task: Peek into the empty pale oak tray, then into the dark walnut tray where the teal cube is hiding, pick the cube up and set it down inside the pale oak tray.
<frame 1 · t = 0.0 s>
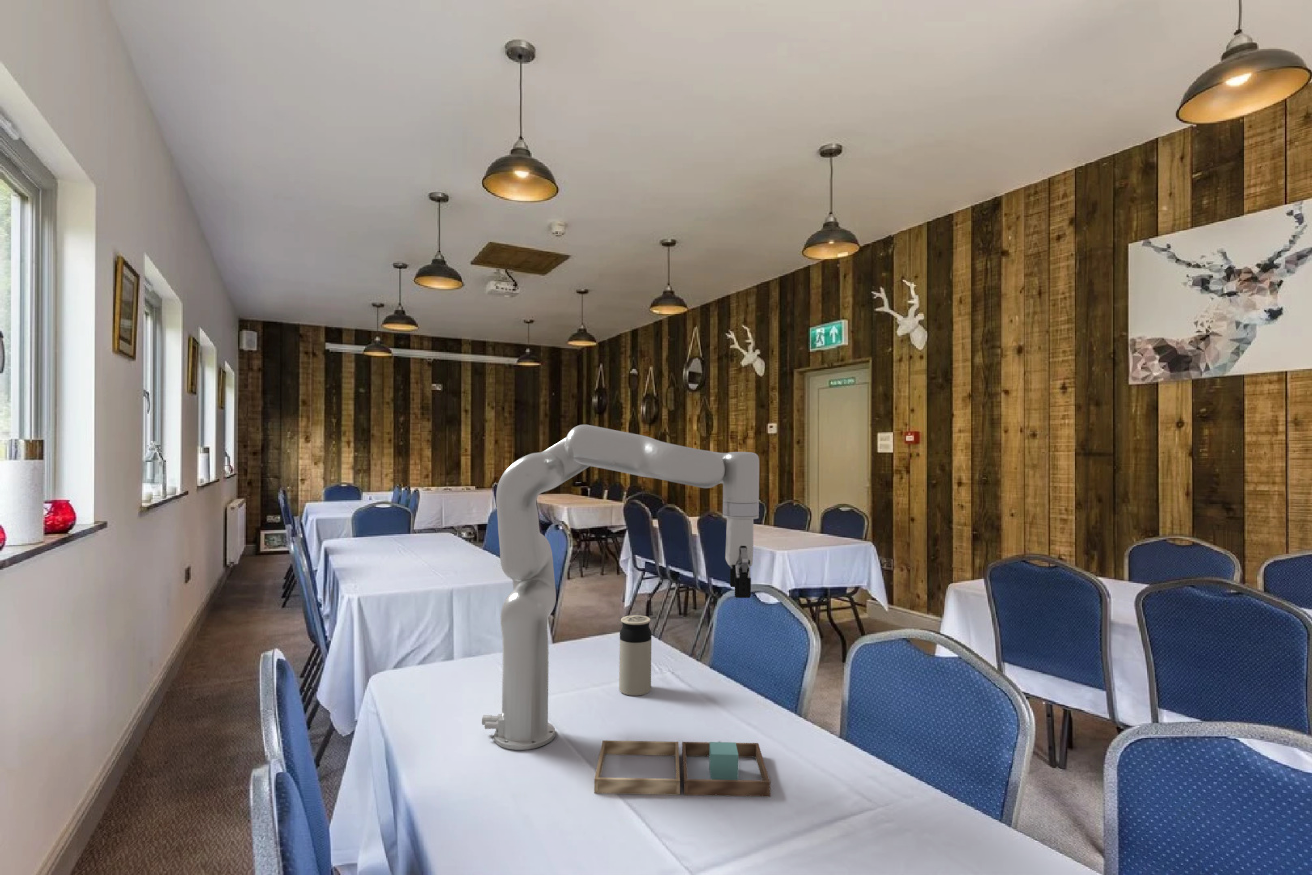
hand: (739, 591, 139), 31 cm above the table, fingers open, 9 cm apart
travel mug: (635, 691, 166), on the table
oak tray: (638, 772, 125), on the table
walnut tray: (723, 773, 124), on the table
teal cube: (723, 774, 124), resting in walnut tray
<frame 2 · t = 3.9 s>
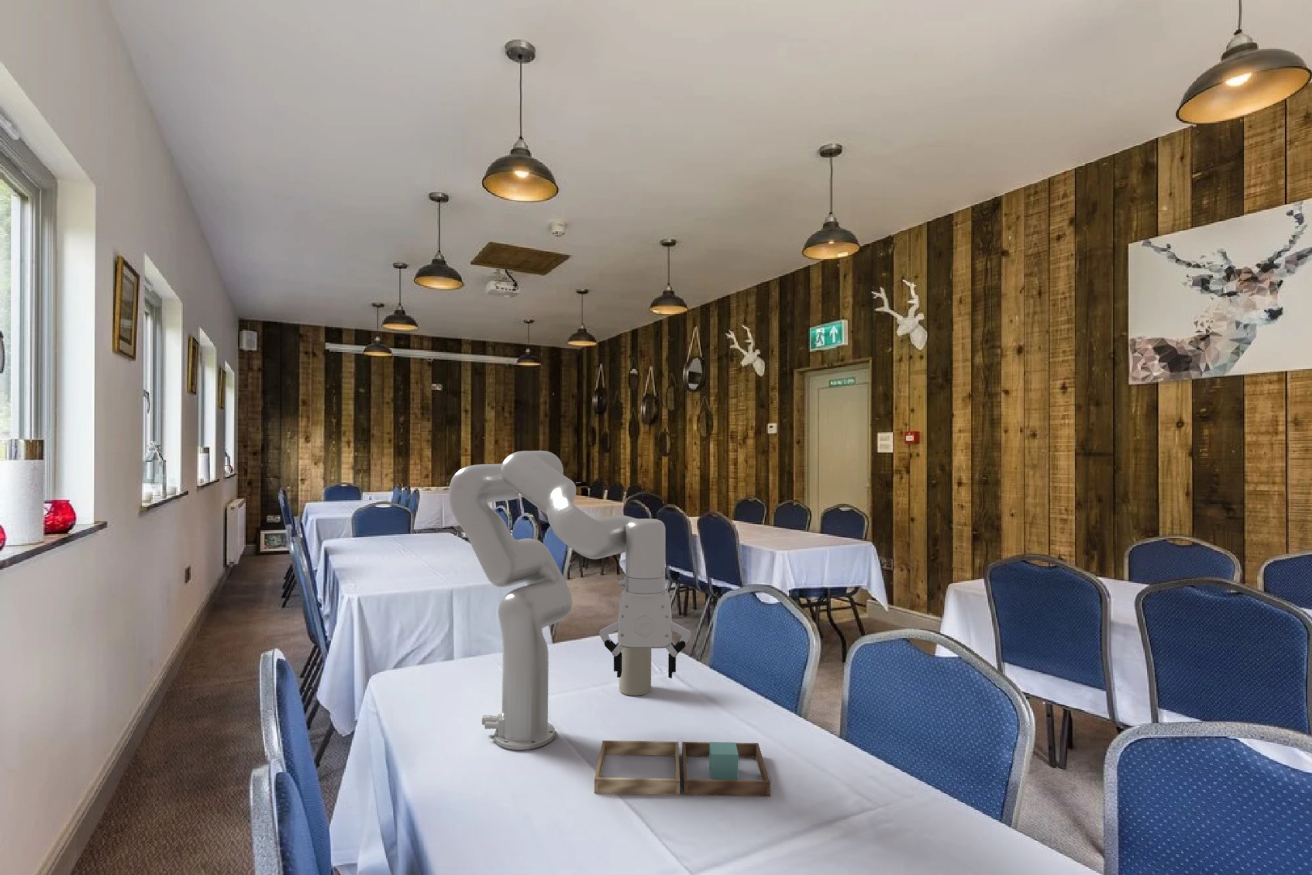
hand: (644, 675, 125), 18 cm above the table, fingers open, 9 cm apart
nothing on the table moved.
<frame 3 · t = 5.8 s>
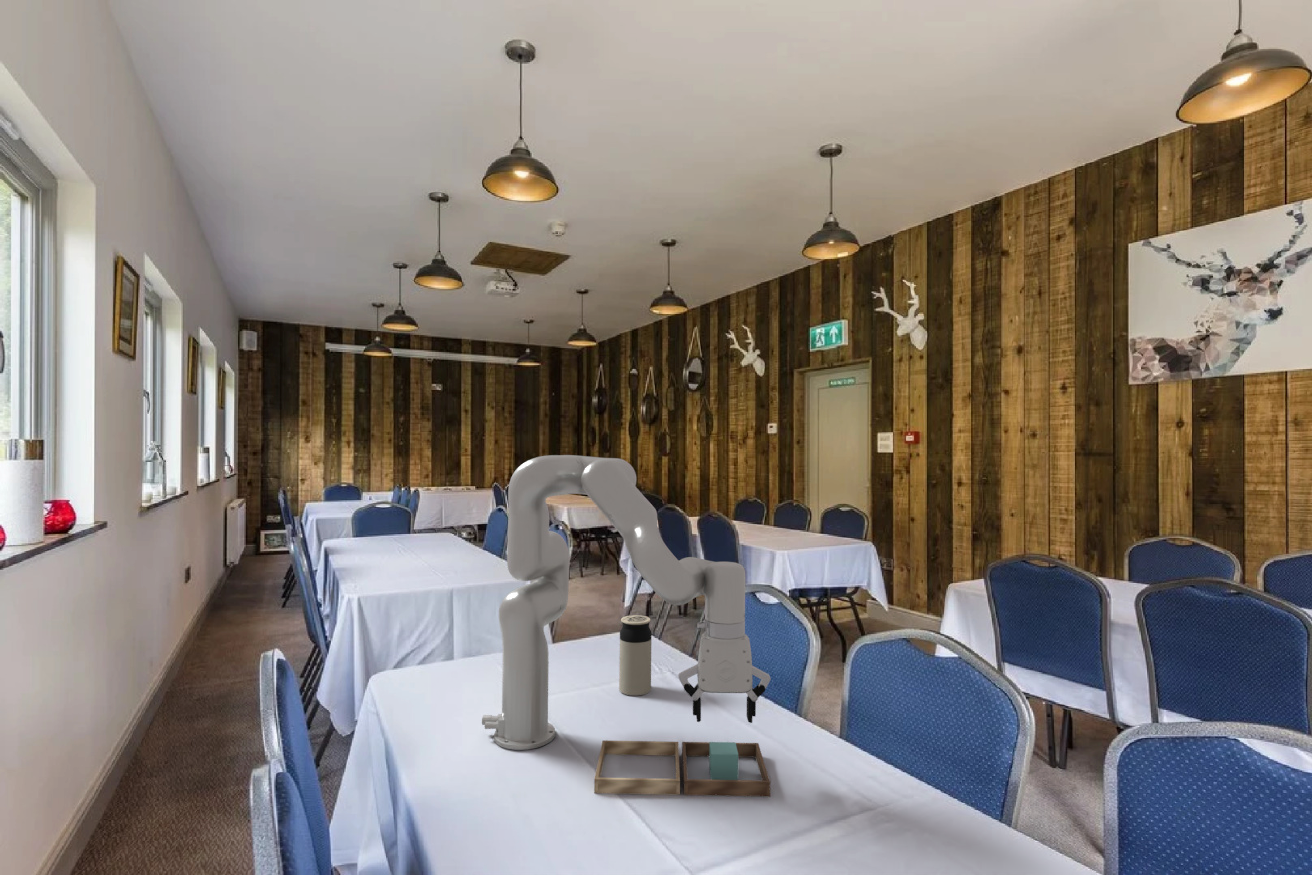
hand: (723, 719, 124), 10 cm above the table, fingers open, 9 cm apart
nothing on the table moved.
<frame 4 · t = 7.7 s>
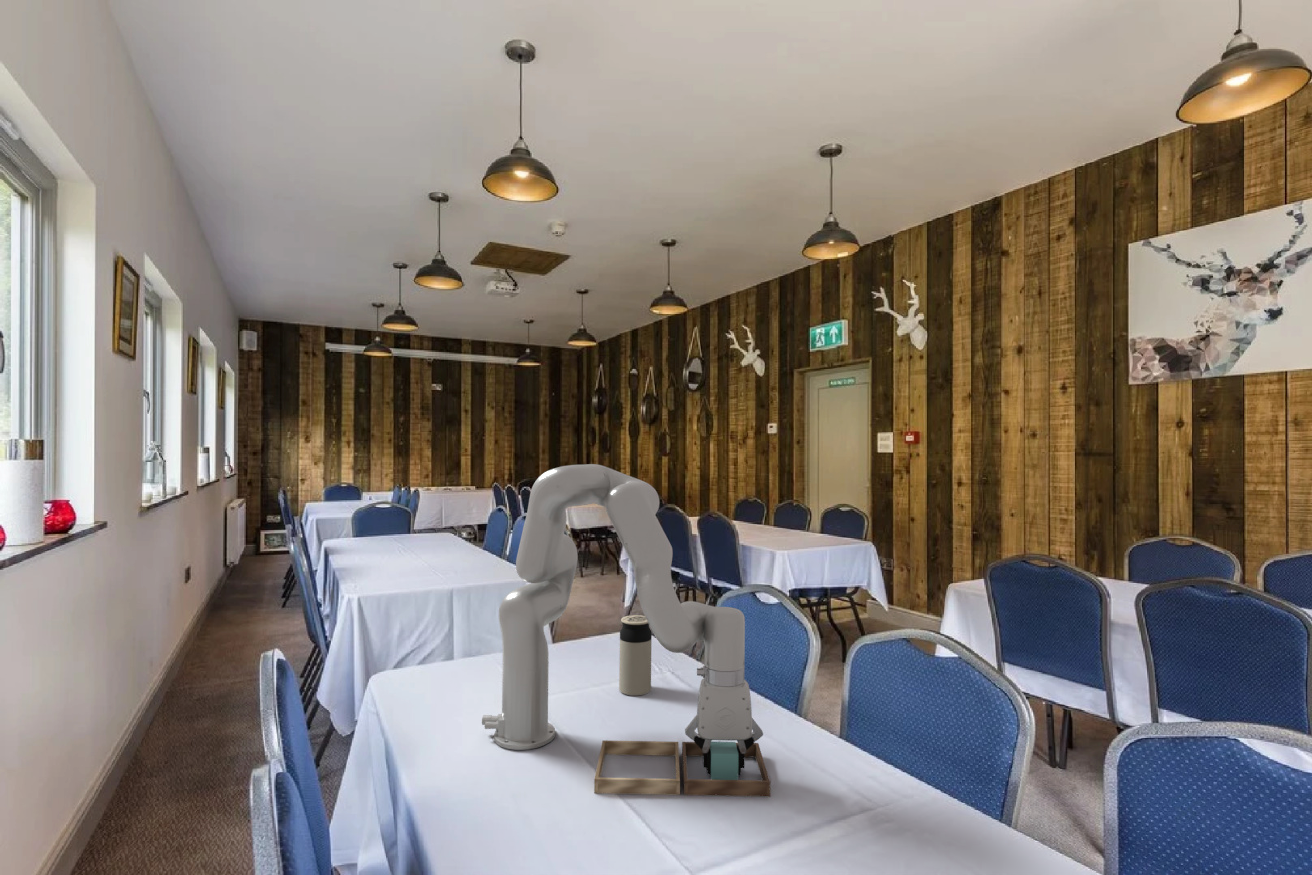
hand: (723, 770, 124), 1 cm above the table, fingers closed on teal cube, 5 cm apart
teal cube: (723, 774, 124), resting in walnut tray, touching gripper
everything else where it was.
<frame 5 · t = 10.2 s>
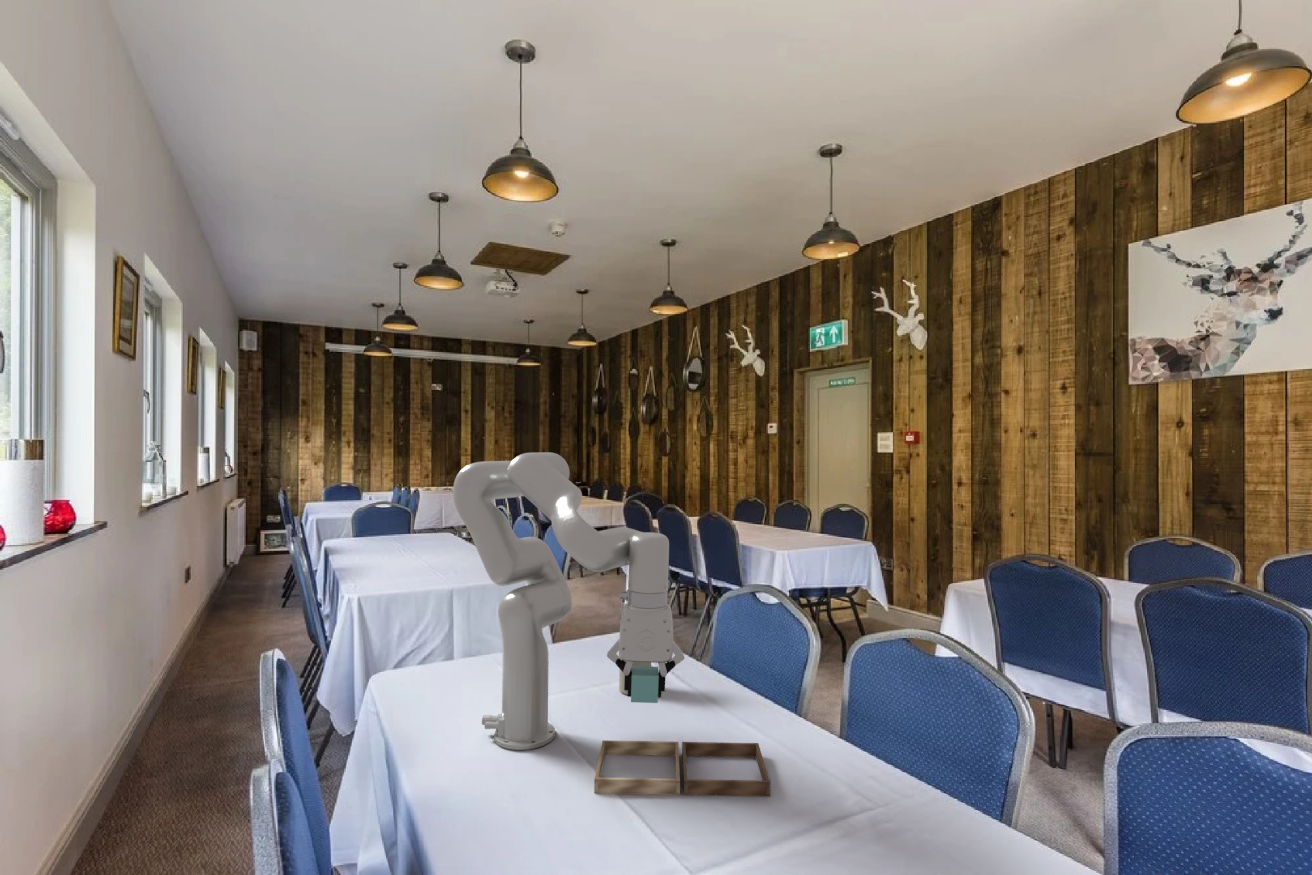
hand: (644, 693, 125), 15 cm above the table, fingers closed on teal cube, 5 cm apart
teal cube: (644, 697, 125), point 14 cm above the table, touching gripper
everything else where it was.
when the fingers open (2 cm above the table, at t = 12.9 s): teal cube drops 1 cm, resting in oak tray.
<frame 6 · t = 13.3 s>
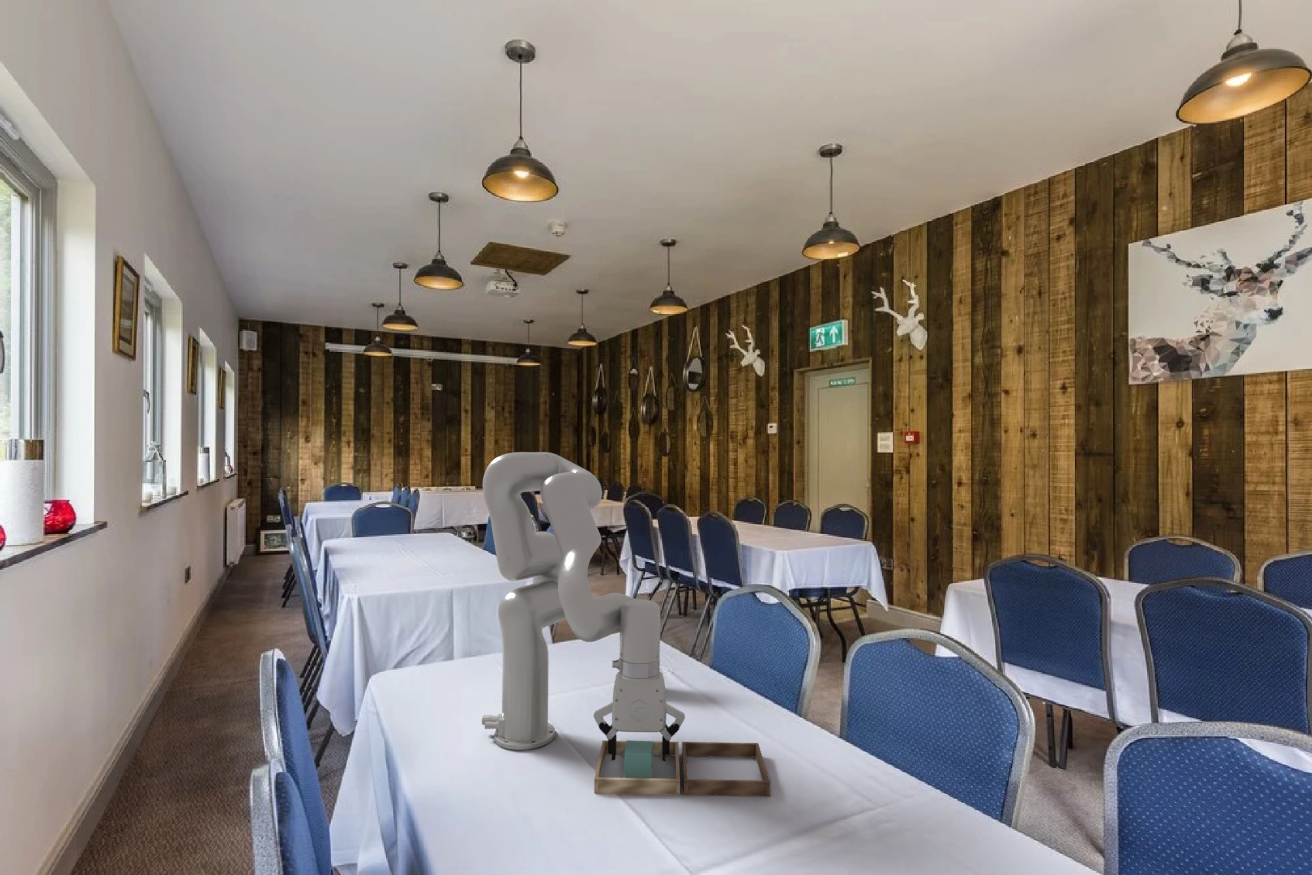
hand: (638, 757, 125), 3 cm above the table, fingers open, 9 cm apart
teal cube: (638, 773, 125), resting in oak tray
everything else where it was.
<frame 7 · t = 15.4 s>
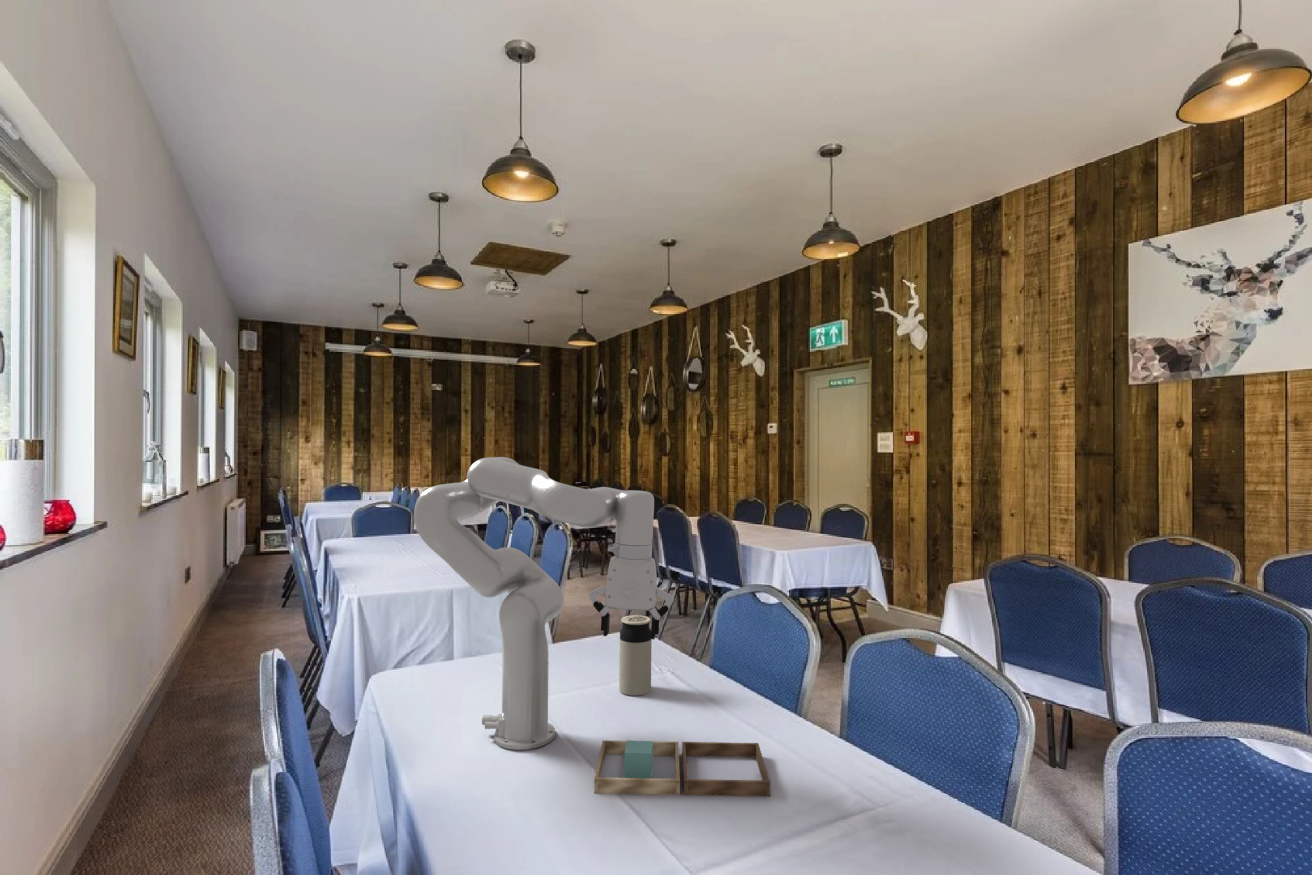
hand: (629, 635, 134), 23 cm above the table, fingers open, 9 cm apart
nothing on the table moved.
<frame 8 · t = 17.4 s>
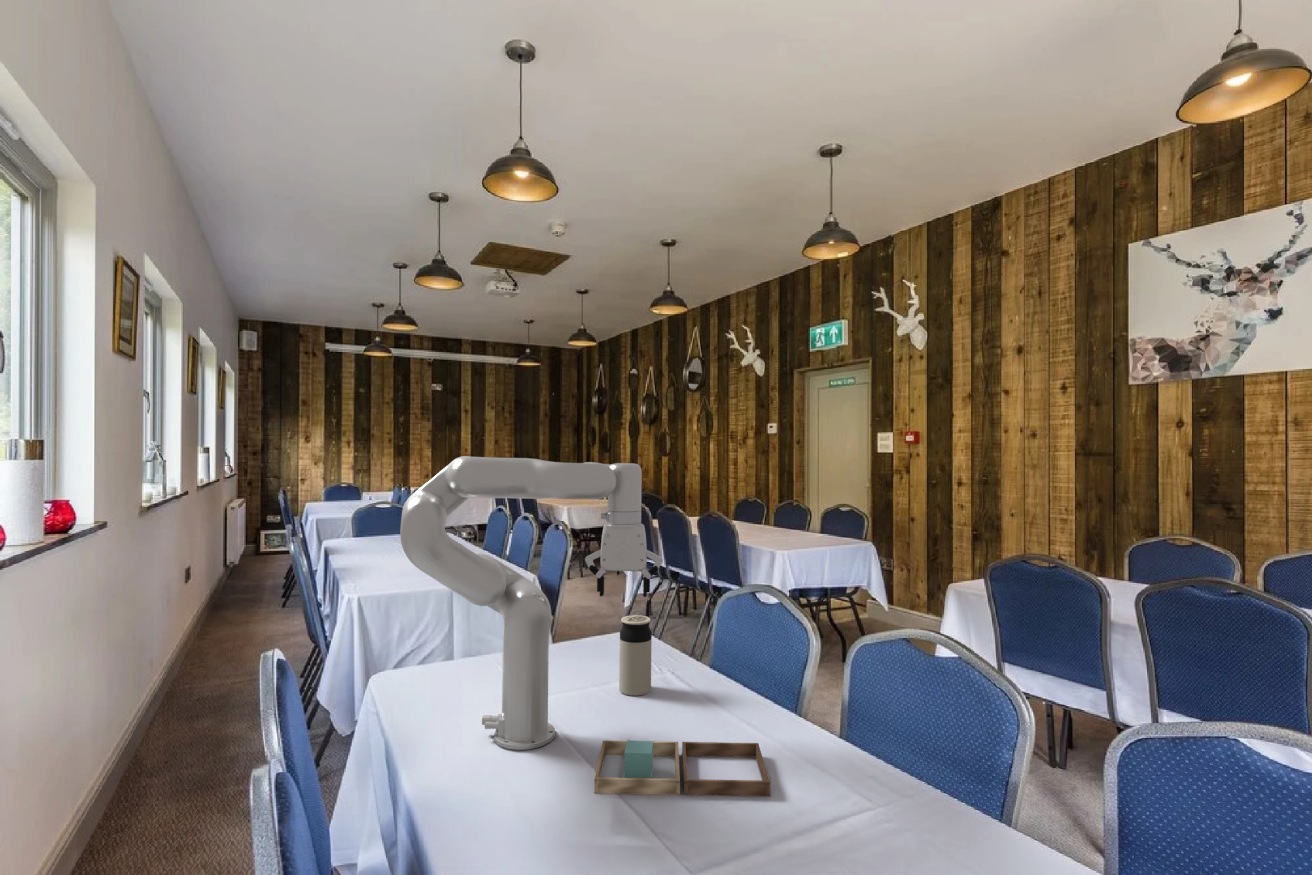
hand: (623, 595, 147), 28 cm above the table, fingers open, 9 cm apart
nothing on the table moved.
at the end: teal cube inside the target area on the oak tray (0.0 cm from its centre), point 0.0 cm above the oak tray's base; the gripper is holding nothing; teal cube moved 16.0 cm from its start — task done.
